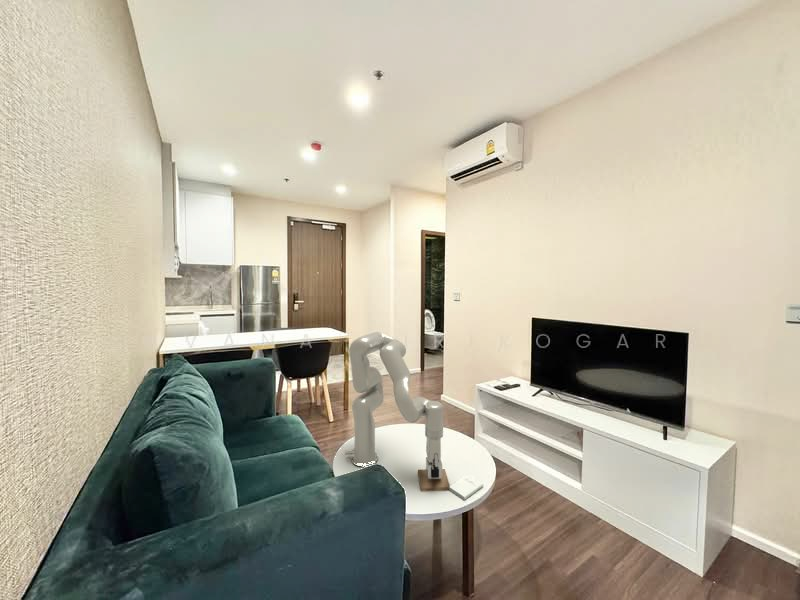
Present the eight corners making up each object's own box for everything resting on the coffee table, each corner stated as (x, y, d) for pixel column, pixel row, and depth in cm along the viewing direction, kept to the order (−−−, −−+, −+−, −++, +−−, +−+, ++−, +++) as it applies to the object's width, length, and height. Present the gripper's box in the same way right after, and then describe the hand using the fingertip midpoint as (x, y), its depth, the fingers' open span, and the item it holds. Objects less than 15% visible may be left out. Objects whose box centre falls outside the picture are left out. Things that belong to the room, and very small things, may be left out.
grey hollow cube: (427, 479, 135) (427, 465, 134) (425, 470, 141) (426, 457, 140) (442, 478, 135) (442, 464, 135) (439, 469, 141) (439, 456, 141)
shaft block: (420, 491, 132) (421, 476, 131) (417, 472, 144) (417, 458, 143) (450, 490, 133) (450, 475, 132) (444, 472, 145) (444, 458, 144)
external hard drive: (448, 490, 133) (467, 477, 141) (464, 501, 127) (483, 487, 135) (448, 486, 133) (467, 473, 141) (464, 497, 127) (483, 483, 135)
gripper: (422, 422, 145) (422, 460, 146) (427, 442, 127) (427, 486, 129) (439, 421, 145) (439, 460, 147) (446, 442, 128) (446, 485, 129)
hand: (433, 471), depth 138 cm, fingers closed on grey hollow cube, 6 cm apart
